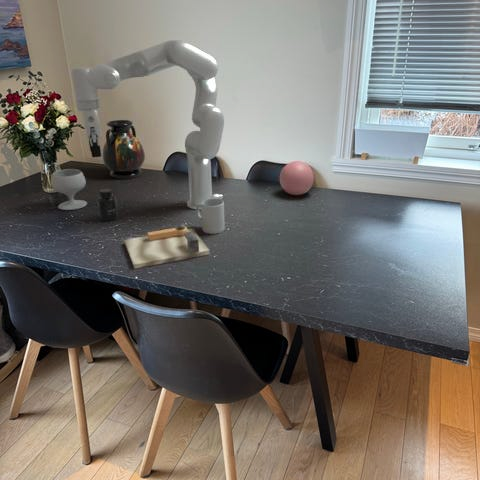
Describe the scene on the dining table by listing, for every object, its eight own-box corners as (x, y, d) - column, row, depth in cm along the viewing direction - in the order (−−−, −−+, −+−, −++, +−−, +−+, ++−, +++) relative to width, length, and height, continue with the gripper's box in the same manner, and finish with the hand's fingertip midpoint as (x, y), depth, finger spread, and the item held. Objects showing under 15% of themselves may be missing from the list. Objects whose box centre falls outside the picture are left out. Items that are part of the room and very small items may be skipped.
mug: (229, 228, 163) (228, 200, 158) (216, 235, 156) (215, 207, 152) (203, 221, 169) (202, 195, 164) (190, 229, 162) (188, 202, 158)
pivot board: (192, 232, 160) (191, 217, 157) (209, 254, 143) (209, 238, 141) (124, 243, 151) (122, 228, 149) (134, 268, 134) (132, 252, 132)
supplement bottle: (113, 222, 169) (109, 193, 164) (97, 221, 170) (93, 192, 165) (121, 216, 175) (117, 188, 170) (106, 215, 176) (101, 187, 171)
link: (185, 230, 157) (185, 225, 156) (188, 234, 153) (188, 229, 153) (147, 236, 152) (147, 231, 151) (149, 241, 149) (149, 236, 148)
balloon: (318, 188, 205) (321, 156, 198) (307, 201, 188) (309, 167, 182) (288, 184, 210) (289, 154, 204) (274, 197, 194) (275, 164, 187)
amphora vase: (125, 183, 215) (118, 127, 203) (96, 177, 226) (88, 123, 214) (155, 173, 232) (149, 120, 220) (127, 167, 242) (120, 117, 230)
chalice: (57, 213, 178) (50, 179, 172) (54, 203, 190) (47, 170, 183) (92, 208, 184) (86, 174, 178) (86, 198, 195) (81, 166, 189)
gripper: (101, 107, 143) (108, 158, 150) (97, 101, 158) (104, 148, 165) (77, 109, 140) (86, 160, 148) (76, 103, 155) (83, 149, 162)
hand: (95, 153), depth 156 cm, fingers open, 9 cm apart
